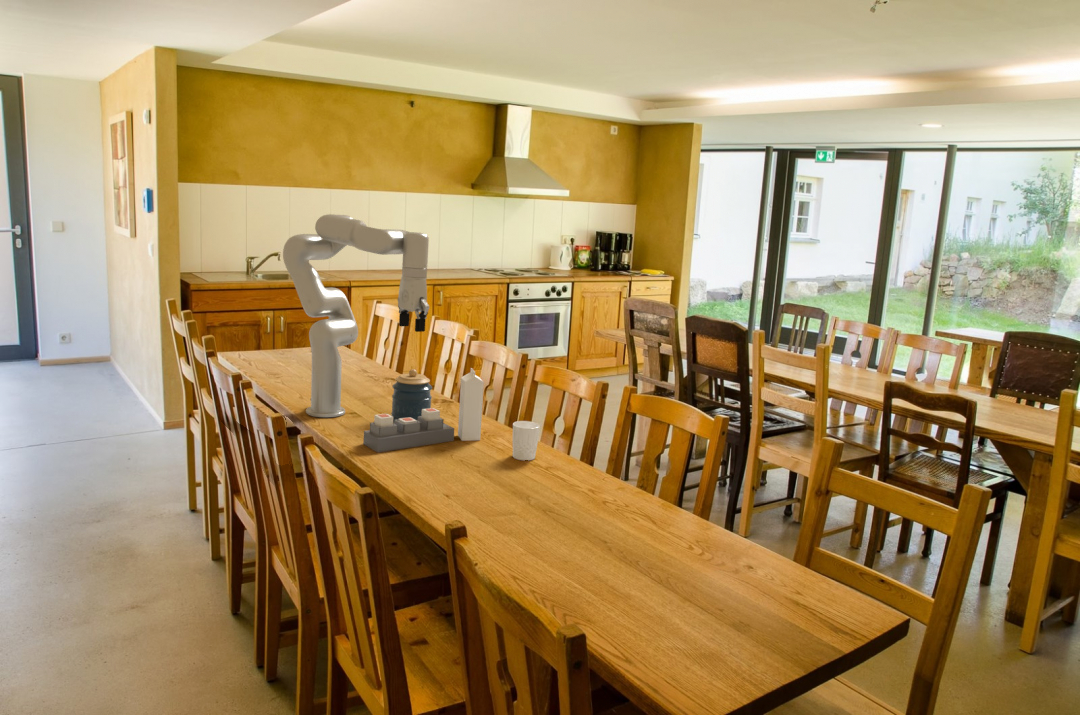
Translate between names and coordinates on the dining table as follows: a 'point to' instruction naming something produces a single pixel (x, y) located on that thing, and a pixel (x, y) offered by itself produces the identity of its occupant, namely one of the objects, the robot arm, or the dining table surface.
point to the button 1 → (383, 420)
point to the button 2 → (407, 420)
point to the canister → (410, 395)
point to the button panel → (407, 435)
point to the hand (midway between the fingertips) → (411, 328)
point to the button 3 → (430, 414)
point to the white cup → (525, 440)
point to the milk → (470, 407)
